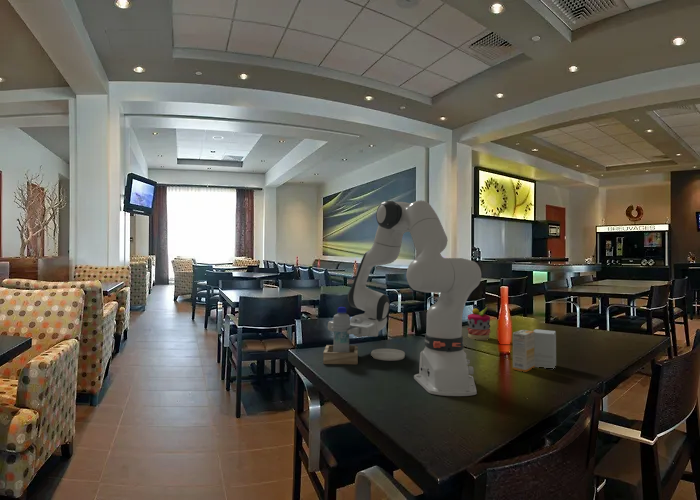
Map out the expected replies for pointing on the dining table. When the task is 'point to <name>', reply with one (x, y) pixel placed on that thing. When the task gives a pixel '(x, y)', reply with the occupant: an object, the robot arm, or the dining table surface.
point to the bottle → (341, 330)
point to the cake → (478, 325)
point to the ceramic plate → (388, 354)
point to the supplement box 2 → (545, 348)
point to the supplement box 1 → (523, 350)
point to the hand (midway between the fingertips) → (340, 330)
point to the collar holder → (340, 355)
